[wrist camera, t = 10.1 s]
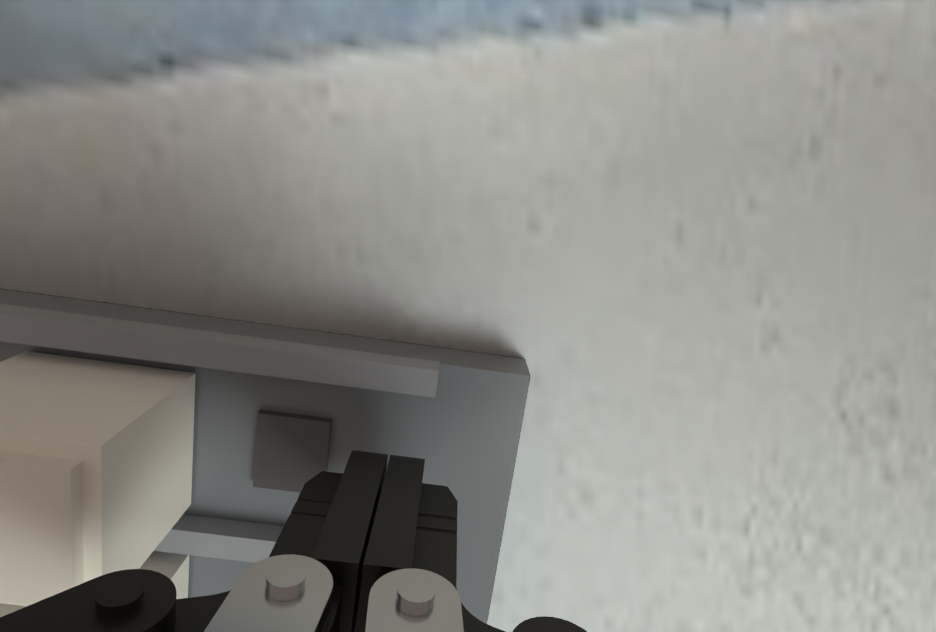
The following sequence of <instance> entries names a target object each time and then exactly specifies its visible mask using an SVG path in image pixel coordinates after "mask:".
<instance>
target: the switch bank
mask: <svg viewBox="0 0 936 632" xmlns="http://www.w3.org/2000/svg"><path fill="white" fill-rule="evenodd" d="M25 351H29V352H37V353H45V354H52V355H60V356H68V357H76V358H83V359H91V360H99V361H106V362H114V363H122V364H130V365H137V366H145V367H153V368H160V369H168V370H176V371H184V372H191V373H196V377H195V406H194V435H193V464H192V493H191V505H190V506H189V508H188V509H187V510H186V511H185V512H184V514H183V515H182V516H181V517H180V519H179V520H178V521H177V522H176V524H175V525H174V526H173V527H172V529H171V530H170V531H169V532H168V534H167V535H166V536H165V537H164V539H163V540H162V541H161V542H160V543H159V545H158V546H157V547H156V548H155V550H154V551H160V552H168V553H177V554H185V555H189V580H188V598H191V597H200V596H208V595H214V594H219V593H223V592H227V591H230V590H232V588H233V587H234V585H235V584H236V582H237V581H238V579H239V578H240V576H241V575H242V574H243V572H244V571H245V570H246V569H248V568H249V567H250V566H252V565H253V564H255V563H256V562H258V561H261V560H263V559H266V558H269V555H270V553H271V551H272V549H273V547H274V545H275V543H276V541H277V539H278V537H279V535H280V533H281V531H282V529H283V527H284V525H285V523H286V521H287V519H288V517H289V515H291V511H292V509H293V507H294V505H295V503H296V502H297V499H298V497H299V495H300V493H301V491H302V489H303V486H304V484H305V483H306V482H307V481H309V480H310V479H312V478H313V477H314V476H316V475H317V474H319V473H320V472H322V471H326V472H335V473H344V470H345V468H346V465H347V462H348V460H349V457H350V455H351V452H352V450H356V451H364V452H372V453H380V454H388V461H387V466H388V462H389V458H390V455H397V456H406V457H414V458H422V459H425V464H424V472H423V480H422V483H425V484H434V485H442V486H448V488H449V489H450V491H451V492H452V494H453V495H454V497H455V498H456V500H457V501H458V507H457V581H456V587H457V591H458V594H459V596H460V600H461V602H462V604H463V605H464V607H465V608H466V609H467V610H468V611H469V612H470V613H471V614H472V615H473V616H475V617H476V618H477V619H478V620H480V621H482V622H484V623H485V624H487V620H488V614H489V609H490V603H491V597H492V591H493V586H494V580H495V574H496V569H497V563H498V557H499V552H500V546H501V540H502V534H503V529H504V523H505V517H506V512H507V506H508V500H509V495H510V489H511V483H512V478H513V472H514V466H515V460H516V455H517V449H518V443H519V438H520V432H521V426H522V421H523V415H524V409H525V403H526V398H527V392H528V386H529V381H530V373H529V370H528V367H527V364H526V360H525V359H522V358H514V357H507V356H499V355H492V354H484V353H477V352H469V351H462V350H454V349H447V348H439V347H432V346H425V345H417V344H410V343H402V342H395V341H387V340H380V339H372V338H365V337H357V336H350V335H342V334H335V333H327V332H320V331H312V330H305V329H297V328H290V327H282V326H275V325H267V324H260V323H252V322H245V321H237V320H230V319H222V318H215V317H207V316H200V315H192V314H185V313H177V312H170V311H162V310H155V309H147V308H140V307H132V306H125V305H117V304H110V303H102V302H95V301H87V300H80V299H72V298H65V297H57V296H50V295H42V294H35V293H27V292H20V291H12V290H5V289H0V362H1V361H4V360H6V359H8V358H11V357H13V356H16V355H18V354H20V353H23V352H25Z"/></svg>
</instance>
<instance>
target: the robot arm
mask: <svg viewBox="0 0 936 632" xmlns="http://www.w3.org/2000/svg"><path fill="white" fill-rule="evenodd" d="M387 461H388V454H380V453H372V452H364V451H356V450H352V452H351V455H350V457H349V460H348V462H347V465H346V468H345V470H344V473H335V472H326V471H322V472H320V473H319V474H317V475H316V476H314V477H313V478H312V479H310V480H309V481H307V482H306V483H305V484H304V486H303V489H302V491H301V493H300V495H299V497H298V499H297V502H296V503H295V505H294V507H293V509H292V511H291V515H289V517H288V519H287V521H286V523H285V525H284V527H283V529H282V531H281V533H280V535H279V537H278V539H277V541H276V543H275V545H274V547H273V549H272V551H271V553H270V555H269V558H266V559H263V560H261V561H258V562H256V563H255V564H253V565H252V566H250V567H249V568H248V569H246V570H245V571H244V572H243V574H242V575H241V576H240V578H239V579H238V581H237V582H236V584H235V585H234V587H233V588H232V590H230V591H227V592H223V593H219V594H214V595H208V596H200V597H191V598H183V599H176V596H177V594H176V587H175V585H174V583H173V582H172V581H171V579H169V578H168V577H167V576H165V575H163V574H161V573H159V572H156V571H153V570H146V569H127V570H121V571H115V572H112V573H108V574H105V575H102V576H99V577H97V578H94V579H92V580H89V581H87V582H85V583H82V584H80V585H77V586H75V587H73V588H70V589H68V590H65V591H63V592H60V593H58V594H56V595H53V596H51V597H48V598H46V599H44V600H41V601H39V602H36V603H34V604H31V605H29V606H27V607H24V608H22V609H19V610H17V611H15V612H12V613H10V614H7V615H5V616H3V617H0V632H505V631H502V630H499V629H497V628H494V627H492V626H490V625H487V624H485V623H484V622H482V621H480V620H478V619H477V618H476V617H475V616H473V615H472V614H471V613H470V612H469V611H468V610H467V609H466V608H465V607H464V605H463V604H462V602H461V600H460V596H459V594H458V591H457V587H456V581H457V507H458V501H457V500H456V498H455V497H454V495H453V494H452V492H451V491H450V489H449V488H448V486H442V485H434V484H425V483H422V480H423V472H424V464H425V459H422V458H414V457H406V456H397V455H390V458H389V462H388V466H387ZM513 632H587V631H585V630H584V629H582V628H581V627H579V626H577V625H575V624H573V623H571V622H569V621H566V620H563V619H559V618H554V617H535V618H530V619H528V620H525V621H523V622H522V623H520V624H519V625H518V626H517V627H516V628H515V629H514V630H513Z"/></svg>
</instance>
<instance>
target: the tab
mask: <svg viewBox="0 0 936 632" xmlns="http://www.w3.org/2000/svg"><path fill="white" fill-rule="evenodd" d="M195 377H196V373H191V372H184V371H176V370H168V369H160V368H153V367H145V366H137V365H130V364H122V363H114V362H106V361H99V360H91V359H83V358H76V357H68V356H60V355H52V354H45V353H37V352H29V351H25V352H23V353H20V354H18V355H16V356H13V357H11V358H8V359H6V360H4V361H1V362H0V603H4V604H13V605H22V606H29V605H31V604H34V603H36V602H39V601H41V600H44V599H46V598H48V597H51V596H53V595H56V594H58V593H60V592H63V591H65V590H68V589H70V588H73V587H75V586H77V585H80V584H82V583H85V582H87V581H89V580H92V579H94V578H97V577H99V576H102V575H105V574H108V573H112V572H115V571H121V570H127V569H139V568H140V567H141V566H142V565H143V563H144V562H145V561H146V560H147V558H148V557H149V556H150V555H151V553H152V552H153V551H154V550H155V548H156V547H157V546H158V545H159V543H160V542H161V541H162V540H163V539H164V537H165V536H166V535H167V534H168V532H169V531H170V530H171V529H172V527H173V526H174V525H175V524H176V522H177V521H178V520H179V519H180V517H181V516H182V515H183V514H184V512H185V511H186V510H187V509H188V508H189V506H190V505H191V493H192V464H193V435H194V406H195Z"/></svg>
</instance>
